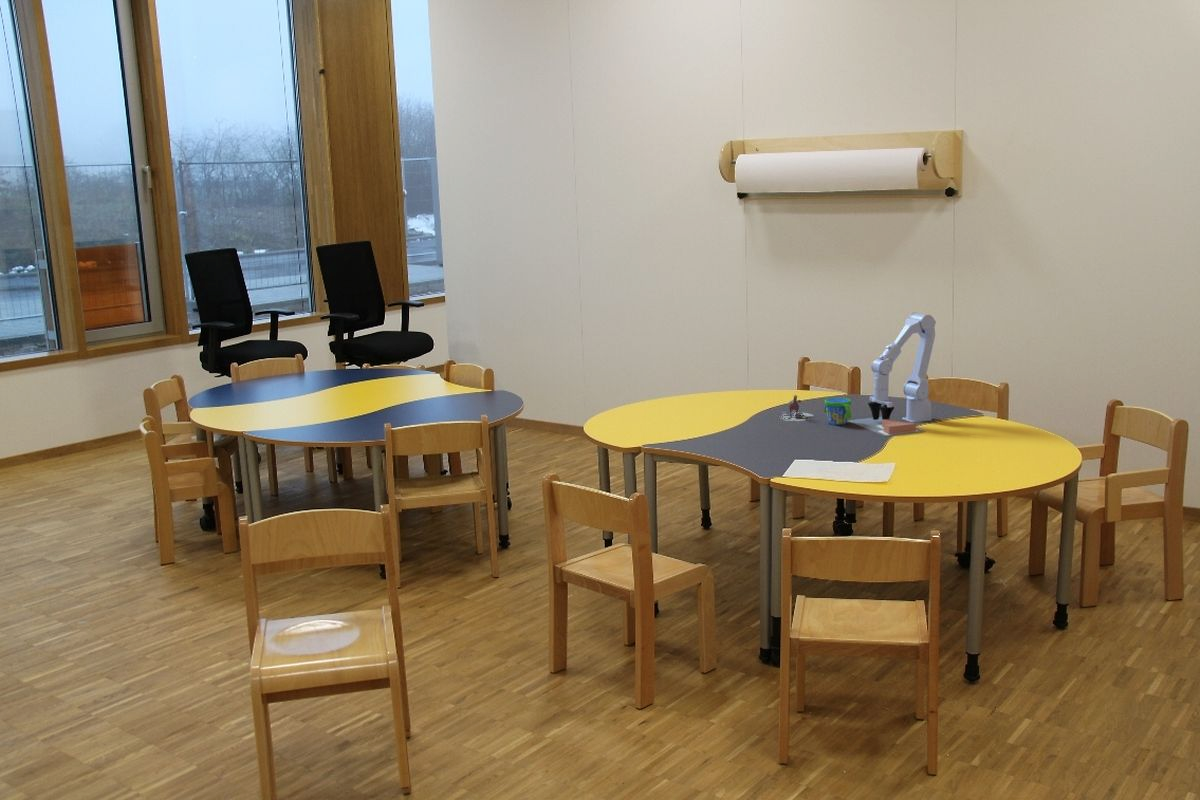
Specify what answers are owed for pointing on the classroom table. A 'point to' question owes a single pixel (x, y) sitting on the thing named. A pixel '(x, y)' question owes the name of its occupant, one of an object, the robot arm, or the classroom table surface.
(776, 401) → the classroom table surface
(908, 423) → the t block
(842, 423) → the snack cup
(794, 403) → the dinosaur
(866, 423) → the t board
